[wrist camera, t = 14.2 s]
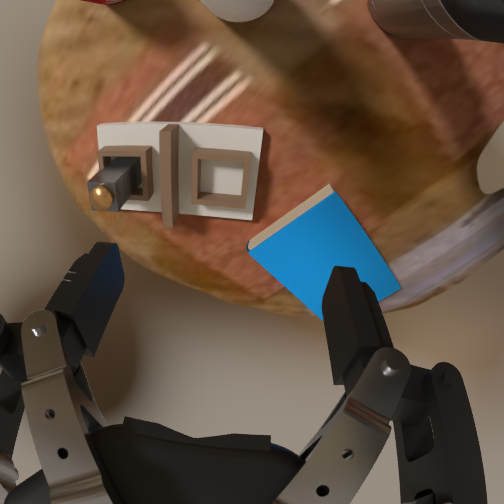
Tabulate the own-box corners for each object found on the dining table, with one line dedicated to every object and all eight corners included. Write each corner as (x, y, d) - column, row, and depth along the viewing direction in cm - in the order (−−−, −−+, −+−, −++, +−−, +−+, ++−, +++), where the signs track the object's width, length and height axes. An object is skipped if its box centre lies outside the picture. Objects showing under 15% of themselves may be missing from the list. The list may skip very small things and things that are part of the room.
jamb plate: (263, 127, 38) (263, 137, 33) (252, 215, 46) (251, 234, 42) (101, 123, 37) (83, 133, 32) (109, 204, 45) (95, 221, 41)
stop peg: (140, 157, 39) (111, 185, 31) (142, 181, 41) (115, 214, 33) (116, 156, 38) (84, 185, 31) (118, 181, 41) (89, 213, 33)
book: (335, 191, 39) (403, 288, 50) (329, 179, 43) (396, 273, 53) (244, 255, 46) (329, 330, 57) (245, 240, 50) (326, 314, 60)
